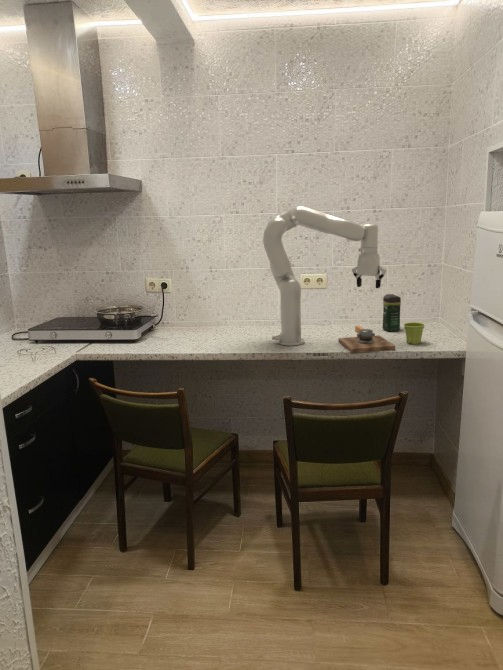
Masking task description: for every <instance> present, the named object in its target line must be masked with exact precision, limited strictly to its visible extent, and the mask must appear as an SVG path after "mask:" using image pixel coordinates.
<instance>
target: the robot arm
mask: <svg viewBox="0 0 503 670" xmlns="http://www.w3.org/2000/svg"><path fill="white" fill-rule="evenodd" d="M298 226H301V227H304V228H308V229H311V230H313V231H317V232H319V233H323V234H328V235H334V236H337V237H341V238H344V239H346V240H348V241H352V242H359V241H360V248H358V252H360V253H359V254H358V256H357V257H358V258H357V266H355V267H354V268H352V269H351V272H352V274H353V276H354V278H355V279H356V287H357V288H360V287H362V285H363V284H362V281H363V280H362V276H363V277H364V276H366V277H367V276H370V277H374V278H375V288H376V289H380V287H381V286H382V285H381V283H382V279H384V277H385V275H386V273H387V270H386V269H385V268H383V267H381V263H380V262H381V260H380V255H379V253H378V243H379V242H378V239H379V237H378V235H379V227H378V225H377V224H376V223H365V224H359V223H355V222H352V221H349V220H346V219H342V218H339V217H336V216H334V215H331V214H328V213H325V212H322V211H320V210H315V209H313V208H309V207H307V206H304V205H297V206H294V207H292V208H290V209H288V210H286V211H284V212H282V213H280V214H278V215H276V216H274V217H272V218H270V219H269V221H268V222H267V225H266V228H265V229H264V232H263V237H262V245H263V247H264V251H265V253H266V256H267V258H268V261H269V267H270V270H271V274H272V275H273V278H274V281H275V282H276V285H277V288H278V290H279V291H280V325H281V327H280V329H281V332H280V333H279V334H278V335H272V336H271V341H272V340H275V341H278V344H279V345H282V346H289V347H291V346H299V345H300V346H301V345H303V344H305V339H304V338H302V312H301V307H302V306H301V303H302V302H301V300H302V299H301V297H302V286H301V283H300V282H299V280H298V279H297V278H296V276H295V273H294V271H293V269H292V263H291V261H290V259H289V257H288V255H287V252H286V249H285V247H284V244H283V240H282V239H283V235H284V234H285V233H286V232H288V231H290V230H292V229H294V228H296V227H298Z"/></svg>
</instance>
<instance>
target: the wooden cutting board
mask: <svg viewBox="0 0 503 670" xmlns="http://www.w3.org/2000/svg"><path fill="white" fill-rule="evenodd" d="M338 343H339V344H340V345H341V346H342V347H344V349H346V350H347V351H348V352H349V353H350V354H360V353H362V354H363V353H373V352H375V353H376V352H387V351H396V345H395V344H393V343H392V342H391V341H389V340H387V339H386V338H384V337H382V336H381V335H375V336H373V339H372V340H369V341H363V340H359V337H357V336H352V337H351V336H350V337H338Z"/></svg>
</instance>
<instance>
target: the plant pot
mask: <svg viewBox="0 0 503 670" xmlns="http://www.w3.org/2000/svg"><path fill="white" fill-rule="evenodd" d="M403 326H404V330H405V337H406V343H407V344H412V345H418V344H420V343H422V336H423V332H424V328H425V326H426V324H425V323H423V322H416V321H415V322H405V323H403Z"/></svg>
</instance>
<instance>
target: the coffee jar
mask: <svg viewBox="0 0 503 670" xmlns="http://www.w3.org/2000/svg"><path fill="white" fill-rule="evenodd" d="M382 304H383V308H382V309H383V311H382V329H383V330H384V331H386V332H393V333H394V332H398V331H400V330H401V304H402V301H401V297H400V296H398V295H395V294H394V293H390V294H389V293H387V294H385V295H384V296H383V299H382Z"/></svg>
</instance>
